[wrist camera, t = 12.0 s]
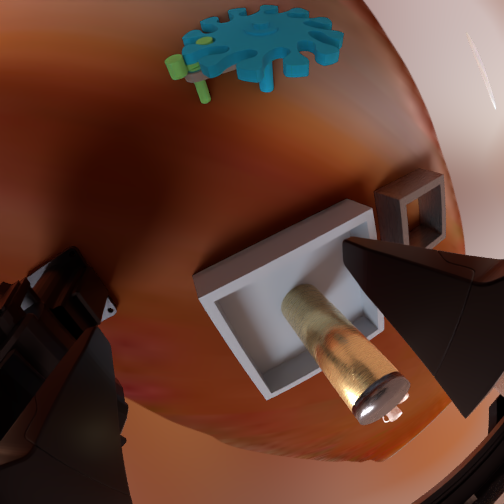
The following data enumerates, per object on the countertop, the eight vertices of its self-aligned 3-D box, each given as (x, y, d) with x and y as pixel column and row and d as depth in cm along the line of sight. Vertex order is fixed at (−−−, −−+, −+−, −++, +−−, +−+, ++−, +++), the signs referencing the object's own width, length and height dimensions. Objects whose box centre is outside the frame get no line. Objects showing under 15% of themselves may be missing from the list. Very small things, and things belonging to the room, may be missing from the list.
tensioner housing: (382, 256, 27) (404, 269, 24) (373, 191, 24) (399, 200, 21) (424, 227, 28) (445, 237, 25) (419, 168, 25) (443, 174, 22)
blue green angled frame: (295, -7, 13) (380, 47, 10) (296, 47, 19) (362, 115, 16) (152, 27, 13) (174, 92, 10) (175, 82, 19) (205, 165, 16)
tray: (255, 377, 28) (266, 400, 25) (192, 275, 21) (198, 298, 18) (366, 313, 30) (384, 329, 27) (346, 198, 23) (372, 208, 20)
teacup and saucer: (407, 385, 47) (418, 396, 43) (396, 404, 50) (406, 415, 46) (377, 403, 44) (388, 416, 41) (368, 421, 48) (378, 433, 44)
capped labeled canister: (287, 327, 26) (360, 431, 14) (275, 297, 24) (358, 409, 12) (323, 307, 26) (406, 398, 14) (314, 276, 24) (413, 370, 13)
